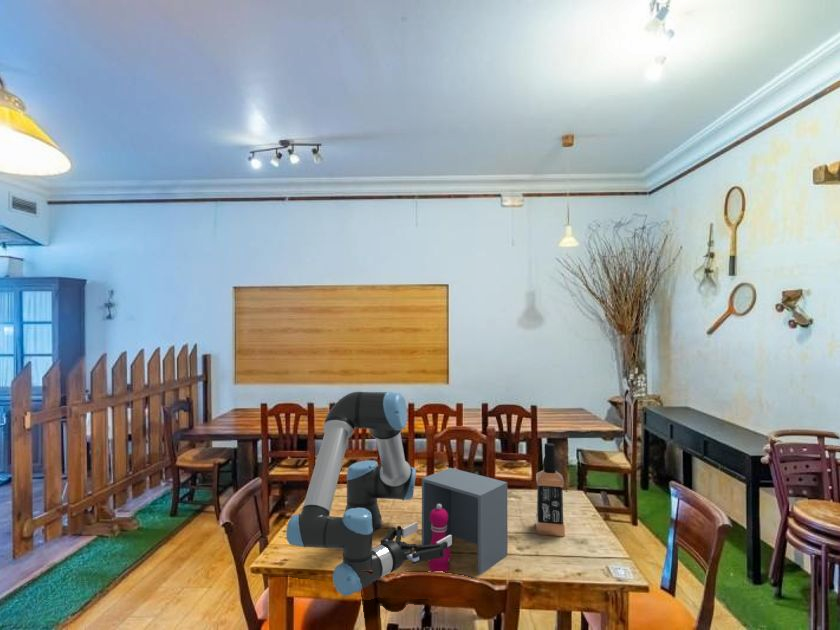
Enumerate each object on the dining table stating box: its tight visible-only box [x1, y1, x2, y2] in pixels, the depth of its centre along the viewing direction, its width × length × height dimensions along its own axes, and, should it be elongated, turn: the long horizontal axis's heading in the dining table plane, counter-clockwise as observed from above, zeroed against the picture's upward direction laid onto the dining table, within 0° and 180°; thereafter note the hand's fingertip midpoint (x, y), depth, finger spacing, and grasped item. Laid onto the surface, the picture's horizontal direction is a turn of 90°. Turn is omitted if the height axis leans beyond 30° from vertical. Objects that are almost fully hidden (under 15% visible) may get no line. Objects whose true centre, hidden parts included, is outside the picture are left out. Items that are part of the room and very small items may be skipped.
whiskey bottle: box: [535, 442, 566, 537], centre depth 171 cm, size 10×10×32 cm
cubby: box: [421, 467, 508, 575], centre depth 154 cm, size 24×16×24 cm, turn 49°
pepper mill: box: [428, 504, 451, 573], centre depth 143 cm, size 7×7×20 cm
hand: (433, 532), depth 141 cm, fingers open, 13 cm apart
